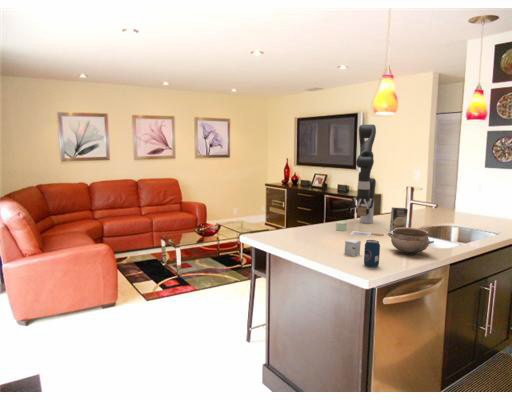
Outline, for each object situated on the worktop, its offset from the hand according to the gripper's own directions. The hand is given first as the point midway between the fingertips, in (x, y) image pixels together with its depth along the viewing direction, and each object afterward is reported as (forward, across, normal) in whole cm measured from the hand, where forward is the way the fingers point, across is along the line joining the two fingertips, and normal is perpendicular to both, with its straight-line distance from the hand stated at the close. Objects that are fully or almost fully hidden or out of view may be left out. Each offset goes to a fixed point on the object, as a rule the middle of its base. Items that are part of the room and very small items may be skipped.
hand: (362, 214), depth 253 cm
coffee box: (+14, -21, -19) cm, 31 cm away
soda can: (+12, -16, +67) cm, 70 cm away
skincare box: (+13, -4, +51) cm, 53 cm away
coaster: (+13, -10, -2) cm, 17 cm away
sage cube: (+13, +14, -5) cm, 20 cm away
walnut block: (+1, 0, 0) cm, 1 cm away
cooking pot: (+13, -31, +34) cm, 48 cm away
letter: (+13, 0, 0) cm, 13 cm away
